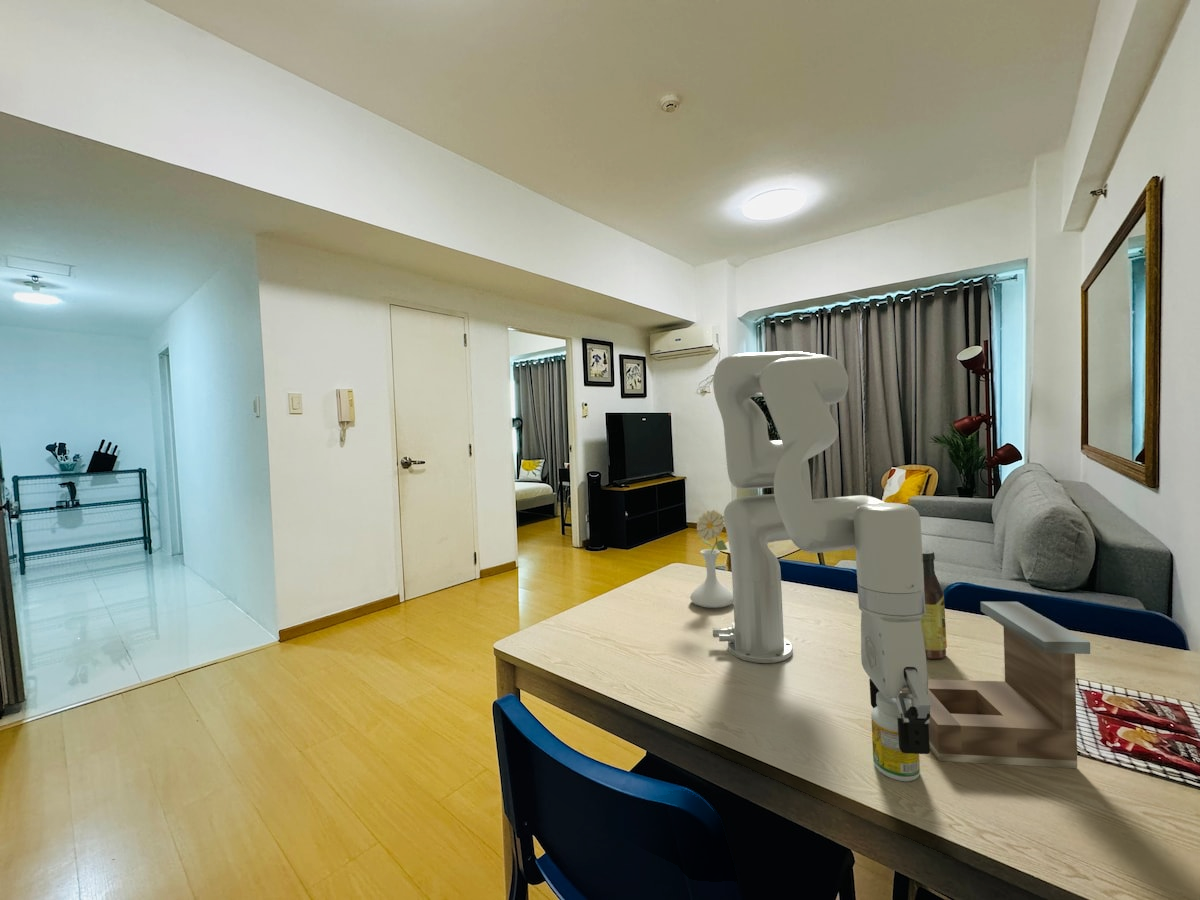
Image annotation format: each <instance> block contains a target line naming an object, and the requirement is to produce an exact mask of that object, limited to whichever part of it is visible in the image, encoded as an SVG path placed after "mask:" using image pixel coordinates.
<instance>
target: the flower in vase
mask: <svg viewBox="0 0 1200 900" xmlns="http://www.w3.org/2000/svg"><path fill="white" fill-rule="evenodd" d="M724 527H725V524H724V515H722V513H720V512H718V511H717V510H715V509H713V510H711V511H710V510H707V511H706V512H703V513H702V515H701V516H699V517H698V521H697V522H696V531H697V533H696V534H697V536H698V537H700V539H701V541H702V542H703V543H704V544H706V545H708V546H709V547H711V548H706V549H701V550H700V551H699V552H700V554H701V556H702V557H703V560H704V562H705V568H706V578H705V580H704V582H703V583H701V584H700V585H698V586H697V587H696V588H695V589H694V590H693V591H692V592H691V594H690V597H689V598H690V601H692V603H693V604H694V605H696V606H700V607H703V608H710V609H718V608H719V609H720V608H724V607H727V606H731V605H732V604H734V603H733V591H732V590H731V589H730V588H728V587H727V586H726V585H724V584H722V582H720V581H719V580H718V578H717V573H716V563H717V557H718V556H719V554H720V552H721V551H726V550H727V551H728V548H727V545H726V543H725V541H724V540H722V539H720V540H718V537H719V536H720V533H722V531H723V530H724ZM711 539H715V542H714V545H713V544H712V543H711V542H710V540H711ZM715 547H716V548H717V549H715Z"/></svg>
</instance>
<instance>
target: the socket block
mask: <svg viewBox="0 0 1200 900" xmlns="http://www.w3.org/2000/svg"><path fill="white" fill-rule="evenodd" d="M980 612H982V613H983V614H984V615H986V616H987V617H989V618H990V619H992V620H994V621H995V622H996V623H998V624H1000V625H1001V626H1002V627H1003V654H1004V681H1003V680H1001V681H999V680H998V681H997V680H996V681H994V680H969V679H968V680H961V679H933V678H932V679H929V678H928V697H929V699H930V702H931V707H930V714H931V715H930V718H929V720H930V723H929V724H928V726H929V744H930V751H931V752H932V754H933V755H934V756H935V757H936V759H937V760H938V761H940V762H953V763H954V762H957V763H972V764H973V763H974V764H975V763H976V764H990V765H991V764H993V765H995V764H996V765H1008V766H1009V765H1012V766H1013V765H1014V766H1026V767H1027V766H1031V767H1046V768H1048V767H1049V768H1067V769H1078V735H1077V734H1078V733H1077V731H1078V730H1077V729H1078V728H1077V696H1076V695H1077V691H1076V690H1077V688H1076V687H1077V685H1076V679H1077V678H1076V655H1078V654H1079V655H1091V642H1090V641H1089V640H1087V639H1086V638H1083V637H1082V636H1080V635H1078V634H1076V633H1075V632H1073V631H1070V630H1069V629H1068V628H1066V627H1064V626H1061V625H1060V624H1059V623H1056V622H1055V621H1053V620H1051V619H1049V617H1048V618H1047V617H1046V616H1043V614H1040V613H1038V612H1036V611H1035V610H1033V609H1031V608H1029V607H1028V606H1026V605H1025V604H1023V603H1020V602H1019V601H980ZM900 693H911V692H910V690H901V692H900ZM911 704H912V707H914V705H913V701H911Z"/></svg>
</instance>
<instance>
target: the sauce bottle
mask: <svg viewBox="0 0 1200 900" xmlns="http://www.w3.org/2000/svg"><path fill="white" fill-rule="evenodd" d="M922 556H923V573H924V593H925V609H926V615H925V616H924V617H922V618H920V619H921V625H922V631H923V637H924V644H925V652H926V659H930V660H940V659H943V658H945V657H946V654H947V647H948V644H947V629H946V627H947V626H946V609H945V594H944V591H943V589H942V587H941V586H942V585H941V584H940V582H939V579H938V577H937V575H936V571H935V562H934V561H935V559H936V557H935V552H934V551H933V550H932V549H931V550H930V549H924V548H922Z"/></svg>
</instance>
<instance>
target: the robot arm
mask: <svg viewBox="0 0 1200 900" xmlns="http://www.w3.org/2000/svg"><path fill="white" fill-rule="evenodd" d="M849 383H850V381H849V375H848V373H847V370H846V368H845V367H844V365H843V363H841V362H840V361H839V360H838V359H836V358H835V357H833V356H830V355H825V354H818V353H817V354H816V353H812V352H811V353H810V352H803V351H796V350H795V351H788V350H787V351H766V352H765V351H764V352H762V351H761V352H743V353H737V354H736V353H735V354H732V355H729V356H726V357H724V358H722V359H721V360H720V361H719V362H718V363H717V365H716V367H715V369H714V373H713V383H712V384H713V386H712V387H713V393H714V398H715V402H716V405H717V407H718V411H719V413H720V415H721V419H722V424H723V436H724V445H725V448H724V449H725V455H726V456H725V459H726V466H727V468H726V469H727V474H728V478H729V481H730V483H731V485H732V486H733V487H734V488H737V489H740V490H757V489H768V488H769V489H771V488H773V493H770V494H766V493H765V494H758V495H747V496H742V497H737V498H735V499H733V500H731V501H729V502H728V504H727V505H726V506H725V508H724V511H723V516H724V519H723V520H724V523H723V524H725V526H724V527H725V531H726V536H727V540H728V546H729V554H730V564H731V565H730V566H731V582H732V593H733V603H732V604H733V618H734V620H733V621H732V623H731V624H732V625H731V626H727V627H726V628H725V627H724V628H722V627H712V638H718V639H719V640H718V641H719V642H727V648H728V651H729V652H730V653H731V654H732V655H733V656H734V657H736V658H739V659H740V660H743V661H747V662H750V663H751V662H752V663H758V664H775V663H780V662H784V661H786V660H788V659H789V658H790V657H791V656H792V655H793V653H794V652H793V651H794V650H793V644H792V643H791V642H790V641H789V640H788V639H787V638H785V637H784V636H785V634H784V611H783V592H782V574H781V565H780V562H779V559H778V558H777V557H776V555H775V553H773V551H771V549H770V547H769V546H768V544H769V543H774V542H780V541H781V542H782V541H789V540H790V541H792V543H793V544H794V545H795V546H796V547H797V548H798V549H799V550H801V551H802V552H805V553H806V552H807V553H810V554H818V553H828V552H836V551H844V550H845V551H846V550H855V563H856V564H855V565H856V568H855V569H856V576H857V577H856V580H857V597H858V598H857V599H858V609H859V610H860V611H861V614H860V657H861V660H860V661H861V665H862V669H863V670H864V672H865V673H866V674H867V676H868V677H869V680H868V681H869V695H870V705H871V708H873V709H874V708H875V707H876V706H877V704H876V694H877V692H879V691H880V692H881V693H882V694H883V695H884V696H885V697H886V698H888V699H892V698H895V699H896V702H897V706H898V709H899V713H900V717H901V718H897V720H898V737H899V749H900V750H901V752H902V753H912V754H919V755H929V754H930V751H931V749H930V744H929V726H928V724H929V723H930V720H929V718H930V715H931V714H930V707H931V702H930V699H929V697H928V679H929V677H928V676H929V674H928V662H927V658H926V652H925V644H924V637H923V631H922V625H921V619H920V618H922V617H924V616H925V615H926V609H925V593H924V573H923V556H922V549H923V542H922V541H923V540H922V539H923V538H922V524H921V515H920V513H919V511H918V510H917V509H916V508H915V507H914V506H912V505H908V504H906V503H900V502H886V501H884V500H881V499H879V498H877V497H874V496H871V495H865V494H864V495H848V496H836V497H835V496H834V497H823V498H816V499H815V498H814V499H812V498H813V497H812V485H811V473H810V472H811V471H810V464H809V459H812V458H813V457H815V456H817V455H819V454H820V453H823V452H824V451H825V450H826V449H828V448H829V447H831V445H833V444H834V443H835V441H836V440H837V439H838V437H839V427H838V425H837V423H836V421H835V420H834V418H833V416H832V413H831V412H830V410H829V407H828V405H835V404H837V403H839V402H841V401H842V400H843V399H844V398H845V397H846V395H847V393H848V390H849V385H850V384H849ZM757 397H763V399H764V401H765V404H766V407H767V408H768V409H767V410H768V412H769V414H770V416H771V418H772V422H773V423H774V427H775V429H776V431H777V434H778V435H779V438H780V439H778V440H777V439H776V440H770V437H769V430H768V421H767V417H766V415H765V413H764V411H762V408H760V406H759V405H758V404H757V403H756V402H755V401H754V400H753V399H752V398H757ZM901 690H910V692H911V693H901ZM904 700H905V701H913V705H914V707H910V708H909V709H908V710H906V706H905V703H904Z"/></svg>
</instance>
